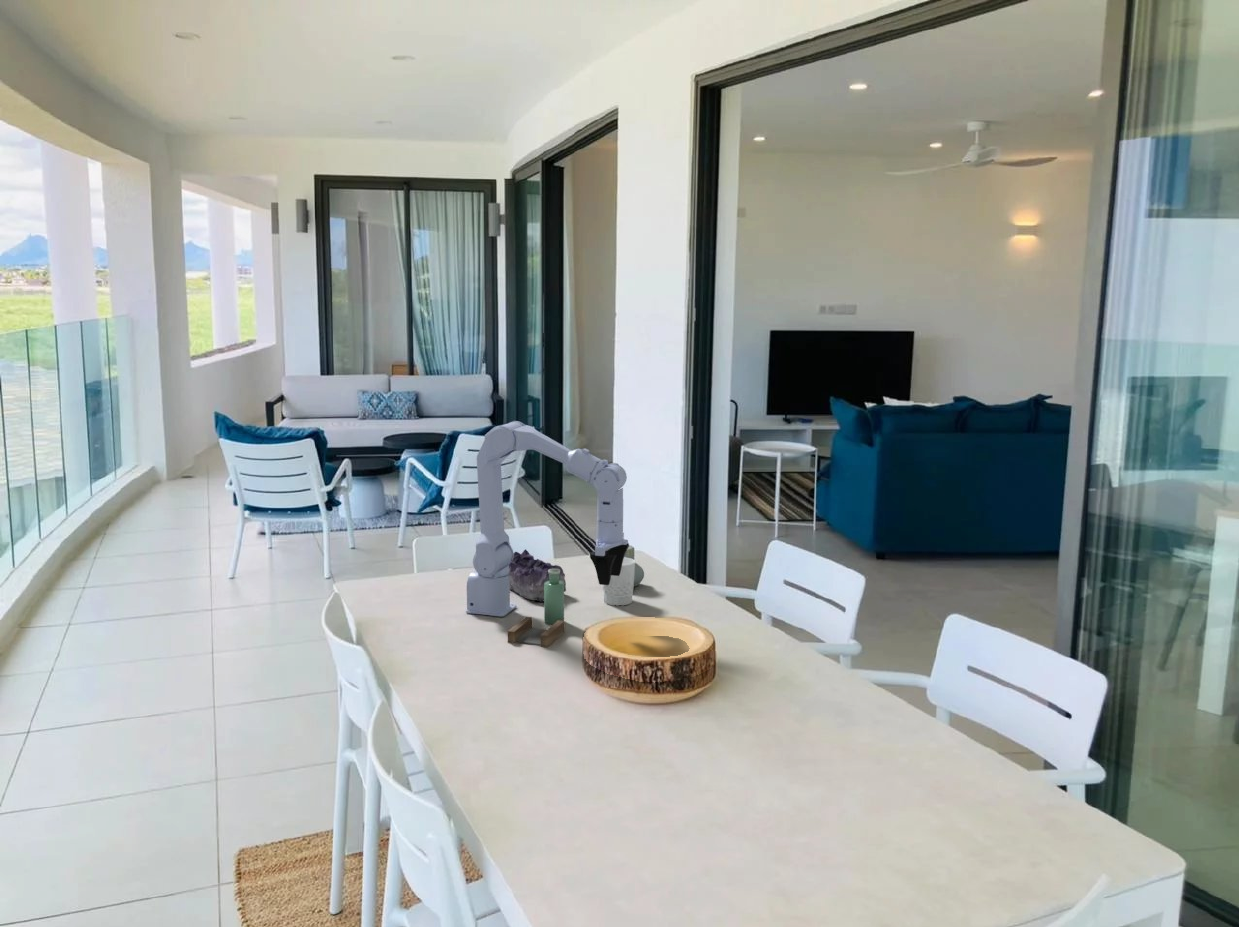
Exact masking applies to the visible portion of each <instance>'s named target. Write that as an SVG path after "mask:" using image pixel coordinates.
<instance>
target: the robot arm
mask: <svg viewBox="0 0 1239 927" xmlns="http://www.w3.org/2000/svg"><path fill="white" fill-rule="evenodd" d="M529 450H533V451H535V452H538V453H540V454H542V455H544V456H546V457H549V458H551V459H554V460H555V461H557V462H559V463H562V464H564V467H565V470H566V472H568V473H570V474H571V475H573V476H575V477H577V478H580V479H581V480H583V481H584V482H587V483H588V484H591V485H593V486H594V488H595V490H596V492H597V500H596V501H597V502H596V504H597V505H596V506H597V507H596V509H597V510H596V539H595V545H596V546H595V547H594V551H591V552H590V553H589V559H590V560H591V561H592V563H593V566H594V569H595V572H596V575H597V580H598V584H599V585H600V586H601V585H602V586H603V585H609V583H610V579H611V575H614V576H619V575H620V572H621V568H622V563H623V559H624V556H625V553H626V551H627V549H628V547H629V545H630V543H629V539H625V532H624V488H623V487H624V485H625V484H626V482H627V473H626V470H625V469H624V468H623V467H622V466H621V465H619V463H616V462H612V463H609V460H608V459H601V458H599V457H597V456H595V455H593V454H591V453H590V450H589V449H587V448H582V449H581V448H576V449H573V450H571V449H569V448H568V447H566V446H564V445H562V443H560V442H557V441H556V440H555V439H552V438H550V437H549V436H547V435H545V434H543V433H542V432H540V431H539V430H537V429H535V428H534V427H533V426H531V425H529V424H528V425H527V424H525V423H523V422H521V421H518V420H513V421H510V422H508V423H506V424H500V425H497V426H496V425H495V426H494V427H493V428H491V429H490V430H489V431H488V432H486V434H484V440H483V442H482V444H481V447H480V448H479V451H478V452H477V455H476V467H477V487H478V488H477V489H478V505H479V521H480V522H479V523H480V533H479V534H480V535H479V537H478V539H477V542H476V544H475V554H474V555H473V559H472V565H473V568H474V570H475V571H471V572H470V574H469V575H468V577H467V580H466V609H465V613H467V614H474V615H475V614H476V615H483V616H492V617H493V616H494V617H499V618H500V617H503V618H504V617H505V616H506V615H507V614H509V613H510V612H512V611H513V610H514V609H516V607H517V604H511V598H510V597H511V596H510V594H511V592H510V591H511V589H510V574H509V564H510V563H511V562H512V560H513V558H514V549H513V547H512V546H511V543H510V536H509V535H508V534H507V532H506V531H505V519H504V518H505V517H504V501H503V500H504V498H503V482H502V480H503V479H502V463H503V462H504V461H505V460H507V459H508V457H509V456H510V455H511V454H513V453H514V452H519V451H529Z"/></svg>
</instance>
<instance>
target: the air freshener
mask: <svg viewBox="0 0 1239 927" xmlns="http://www.w3.org/2000/svg"><path fill="white" fill-rule="evenodd" d="M624 557H626V558H631V559H633V560H635V547H634V546H632V545H630V544H629V547H628V549H627V551H626V553H625V556H624ZM644 578H645V571H644V568H643V567H642V566H641V565H640V564H639V563H636V562H635V573H634V587H635V586H638V585H639V584H640V583H641V582H643V580H644Z"/></svg>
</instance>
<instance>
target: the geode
mask: <svg viewBox="0 0 1239 927" xmlns="http://www.w3.org/2000/svg"><path fill="white" fill-rule="evenodd" d="M513 553H514V558H513V560H512V562H511V563H510V564H509V574H510V591H512V592H515V593H516V594H517V595H519V596H520V597H524V598H526V599H528V600H531V601H538V602H541V603H542V602H544V583H545V582H547V581H549V573H548V570H549V569H559V570H560V573H559V581H562V582H564V593H565V592H566V591H567V587H566V584H567V583H566V574H565V572H564V569H563V567H561V566H560V565H557V564H554V565H552V564H551V563H550V562H545V561H544V560H541V559H538V558H537V559H535V558H534V555H532V554H530V552H529V551H528V550H527V549H524V550H523V551H522V552H521V553H520V552H518V551H513Z"/></svg>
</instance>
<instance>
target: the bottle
mask: <svg viewBox="0 0 1239 927" xmlns="http://www.w3.org/2000/svg"><path fill="white" fill-rule="evenodd" d="M548 573H549V581H547V582H545V583H544V601H543V604H544V605H543V606H544V607H543V608H544V609H543V612H544V613H543V614H544V615H543V618H544V620H543V621H544V622H543V623H544V624H545V625H548V626H552V625H553V624H554V623H555V622H557V621H558V620H560V621H564V622H565V592H564V582H562V581H559V573H560V570H559V569H549V570H548Z"/></svg>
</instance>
